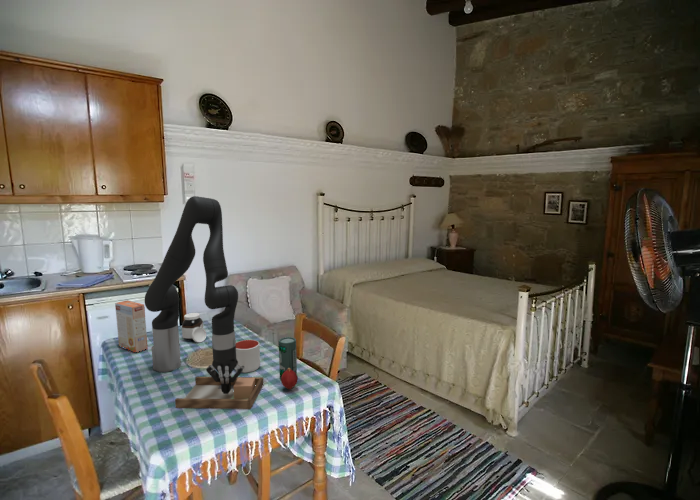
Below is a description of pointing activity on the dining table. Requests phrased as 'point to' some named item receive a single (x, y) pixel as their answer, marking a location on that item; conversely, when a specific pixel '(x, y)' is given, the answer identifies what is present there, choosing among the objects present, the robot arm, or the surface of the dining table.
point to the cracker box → (131, 325)
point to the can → (287, 355)
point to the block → (243, 388)
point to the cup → (248, 355)
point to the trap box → (216, 395)
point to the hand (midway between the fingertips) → (226, 392)
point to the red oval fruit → (289, 379)
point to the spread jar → (193, 328)
